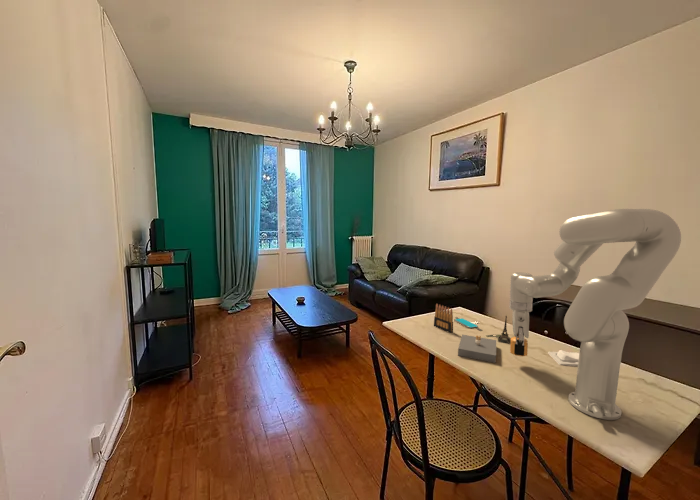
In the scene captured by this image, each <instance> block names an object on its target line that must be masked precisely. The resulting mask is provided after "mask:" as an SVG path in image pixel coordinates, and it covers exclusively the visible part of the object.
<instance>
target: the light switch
mask: <svg viewBox="0 0 700 500" xmlns="http://www.w3.org/2000/svg"><path fill="white" fill-rule="evenodd" d="M579 353H580V352H576V351H575V352H573V351H569V352H568V351H565V350H563V349H560V350H558V351H548V352H547V354H548V355H549V356H550V357H551V358H552V359H553V360H554V361H555V362H556V363H557V365H559V366H568V367H569V366H570V367H577V368H578V361H579Z"/></svg>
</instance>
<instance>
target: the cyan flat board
mask: <svg viewBox="0 0 700 500" xmlns="http://www.w3.org/2000/svg"><path fill="white" fill-rule="evenodd" d="M474 321H475V322H471V321H469V320H467V319H465V318H460V317H457V316H456V317H454V319H453V322H455V323H457V324H458V323H459V324H458V325H460V324H461V325H460V326H462V325H463V327H464V326H465V327H464V328H467V329H468V328H469V329H476V330H477V331H482V329H481V328H479V326H478V324H477V323H478V322H479V321H477V320H474ZM476 321H477V322H476ZM475 323H476V324H475Z"/></svg>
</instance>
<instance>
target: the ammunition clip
mask: <svg viewBox="0 0 700 500" xmlns="http://www.w3.org/2000/svg"><path fill="white" fill-rule="evenodd" d="M453 316H454V314H453V308H452V307H451V308H450V307H449V306H448V307H447V305H446V306H444V305H443V304H442V305H441V304H438V303H436V304H435V312H434V318H433V319H434V320H433V327H435V326H436V328H437V327H438V329H440V328H441V329H440V330H442V329H443V331H445V332H447V331H448V333H449V334H450V333H453V332H454V319H453V318H454V317H453Z"/></svg>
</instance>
